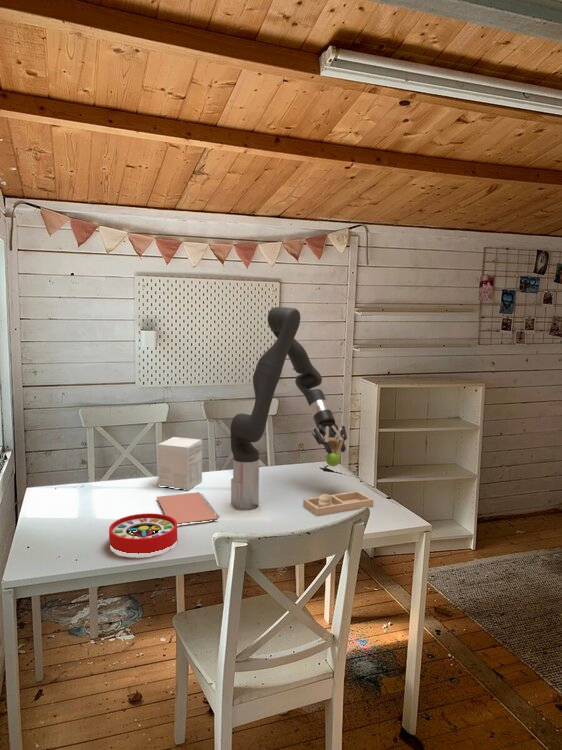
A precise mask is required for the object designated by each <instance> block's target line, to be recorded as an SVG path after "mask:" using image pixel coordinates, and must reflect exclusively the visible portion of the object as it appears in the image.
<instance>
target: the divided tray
mask: <svg viewBox="0 0 562 750" xmlns="http://www.w3.org/2000/svg"><path fill="white" fill-rule="evenodd" d="M319 497H320V496H317V497H310V498H304V499H303V501H302V502H303V508H305V509H306V510H308V511H309V512H311V513H312V514H313V515H315V516H316V517H320V516H325V515H330V514H339V513H342V512H343V513H344V512H350V511H355V510H360V509H364V508H363V507H367V508H373V507H374V499H373V498H371V497H370V496H369V495H368V496H367V495H366V494H364V493H363V492H360V491H359V490H356V491H348V492H343V493H335V494H330V497H331V499H332V505H330V506H324V507H318V504H319Z"/></svg>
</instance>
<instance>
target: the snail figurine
mask: <svg viewBox="0 0 562 750" xmlns="http://www.w3.org/2000/svg"><path fill="white" fill-rule="evenodd" d="M342 436H343V437H344V435H342ZM339 440H340V444H339V443H338V441H337V440H335V439H333V438H330V439H328V443H329V444H330V446H331V449H332V452H331V454H328V453H327V454H326V457H325V461H326V463H327V465H328V466H330V467H336V466H338V465H339V464H340V462H341V457H340V456H341V455H340V454H339V453H338V452H340V451H341V447H342V444H343V441H344V439H343V438H341V439H339Z"/></svg>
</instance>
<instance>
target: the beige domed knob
mask: <svg viewBox="0 0 562 750" xmlns="http://www.w3.org/2000/svg"><path fill="white" fill-rule="evenodd" d="M330 495H331V494H330ZM330 495H329V494H328V493H322V494H320V495H319V496H318V497H319V504H318V507H324V506H330V505H332V499H331V497H330Z"/></svg>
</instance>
